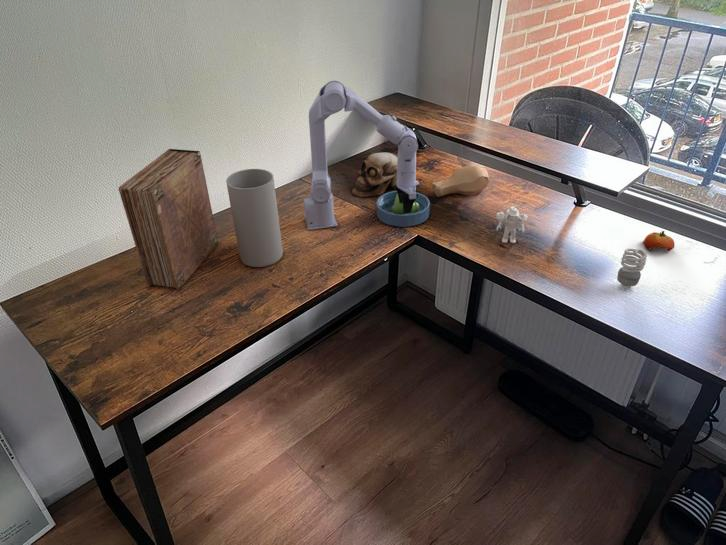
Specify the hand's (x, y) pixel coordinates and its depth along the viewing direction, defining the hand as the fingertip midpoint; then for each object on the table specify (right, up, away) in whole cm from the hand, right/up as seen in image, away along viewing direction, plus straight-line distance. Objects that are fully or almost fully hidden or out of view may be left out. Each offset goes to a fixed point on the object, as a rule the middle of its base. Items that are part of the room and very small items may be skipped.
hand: (405, 209), depth 178 cm
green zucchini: (0, -1, +1) cm, 1 cm away
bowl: (-1, -1, +4) cm, 5 cm away
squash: (+20, +8, +17) cm, 28 cm away
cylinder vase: (-43, -16, -14) cm, 48 cm away
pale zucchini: (-1, +2, +6) cm, 7 cm away
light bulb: (+55, -25, -31) cm, 68 cm away
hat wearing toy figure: (+30, -11, -10) cm, 34 cm away
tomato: (+73, -13, -15) cm, 75 cm away
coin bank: (-8, +10, +21) cm, 24 cm away
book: (-65, -18, -16) cm, 70 cm away
